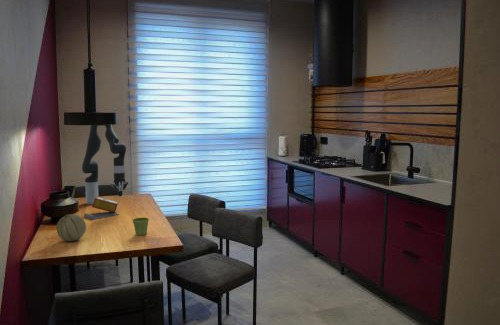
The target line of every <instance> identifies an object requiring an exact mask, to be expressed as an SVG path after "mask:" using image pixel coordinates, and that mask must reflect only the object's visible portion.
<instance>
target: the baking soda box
mask: <svg viewBox="0 0 500 325" xmlns="http://www.w3.org/2000/svg"><path fill="white" fill-rule="evenodd" d="M119 202H120V201H116V200H112V199H108V198H104V197H100V196H98V197H95V200H94V203H93V204H92V207H91V208H94V209H97V210H102V211H105V212H113V213H116V212H117V210H118V206H119V204H120V203H119Z"/></svg>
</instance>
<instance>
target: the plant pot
mask: <svg viewBox="0 0 500 325" xmlns="http://www.w3.org/2000/svg"><path fill="white" fill-rule="evenodd" d="M149 221H150V217H136V218H132V224H133V226H134V231H135V232H134V233H135V235H136V236H145V235H147V233H148V224H149Z"/></svg>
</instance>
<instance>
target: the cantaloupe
mask: <svg viewBox="0 0 500 325" xmlns="http://www.w3.org/2000/svg"><path fill="white" fill-rule="evenodd" d="M86 229H87V224H86V221H85V219H84V218H83V217H81V216H80V215H78V214H76V213H75V214H74V213H72V214H71V213H69V214H65V215H64V216H62V217H61V218H60V219H59V221H58V222H57V223H56V233H57V235H58V236H59V238H60V239H61V240H63V241H65V242H74V241H78V240H79V239H81V238H82V237H83V236H84V235H85V233H86Z"/></svg>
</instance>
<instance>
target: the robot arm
mask: <svg viewBox="0 0 500 325" xmlns="http://www.w3.org/2000/svg"><path fill="white" fill-rule="evenodd" d="M100 126H101V127H102V126H104V127H105V128H106V129H105V133H104V136H105V138H106V140H107V142H108V144H109V149H110V153H111V154H114V155H117V154H118V155H117V156H115V157H114V158H113V182H112V183H111V184H110V186H111V188H113V189H114V191H116V192H117V196H118V197H122V196H123V191H125V189H126V188H127V186H128V185H129V182H128V181H126V174H125V173H126V170H125V169H126V168H125V156H126V153H127V146H126V145H125V143H123V142H122V143H119V138H118V136H117V134H116V133H115V131H114V129H113V128H114V127H113V126H112V124H111V125H91V124H90V128H89V129H90V130H89V136H88V140H87V143H86V144H87V145H86V149H85V155H84V158H83V162H82V164H81V169H82V172H83V174H90V175H89V176H87V177H85V178H84V183H85V184H84V185H85V186H84V187H85V204H86V205H93V203H94V200H95V197H99V185H98V184H99V182H98V181H99V163H98V162H97V161H95V160H92V159H93V158H94V157H95V156H96V154H97V153H98V152H99V151H100V149H101V146H102V145H101V144H102V139H101V137H100V135H99V134H98V127H100Z"/></svg>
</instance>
